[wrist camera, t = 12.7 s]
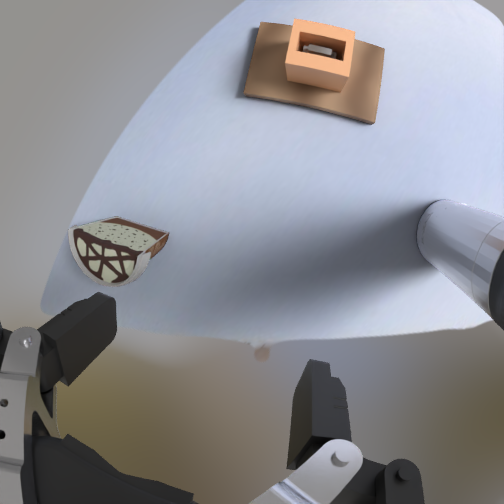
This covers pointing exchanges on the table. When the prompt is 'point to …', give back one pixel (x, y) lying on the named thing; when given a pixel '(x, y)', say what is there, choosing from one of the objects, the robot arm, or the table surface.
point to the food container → (115, 249)
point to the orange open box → (315, 66)
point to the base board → (345, 103)
